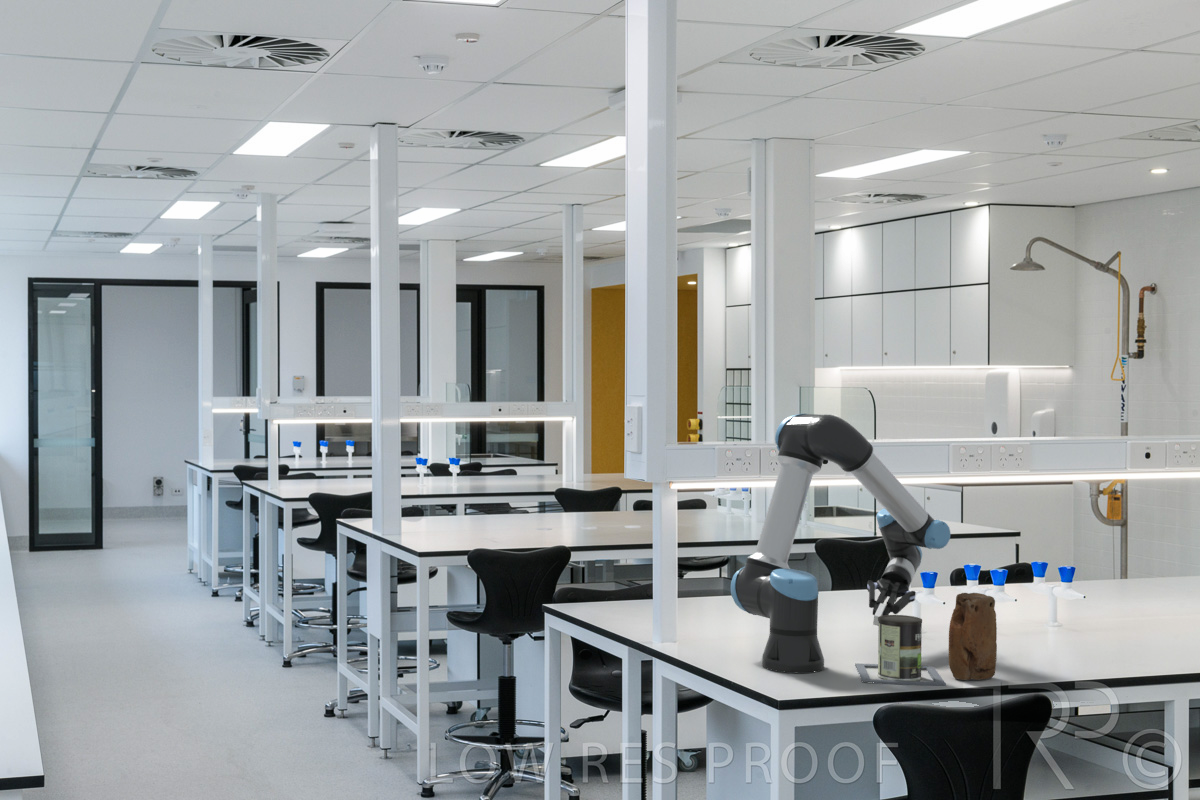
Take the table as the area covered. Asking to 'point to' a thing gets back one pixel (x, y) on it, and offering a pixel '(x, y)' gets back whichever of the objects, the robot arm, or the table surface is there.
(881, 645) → the coffee can
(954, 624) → the brown rough upright block
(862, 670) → the flat grey frame
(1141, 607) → the table surface
